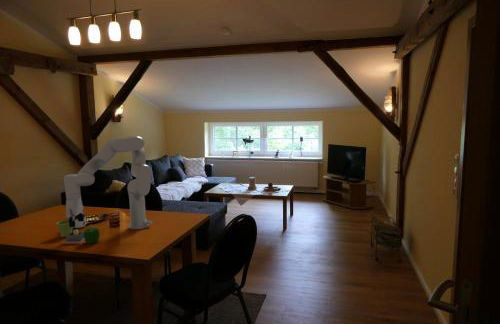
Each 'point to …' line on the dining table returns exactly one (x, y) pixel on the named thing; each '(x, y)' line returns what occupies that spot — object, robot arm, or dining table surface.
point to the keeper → (74, 241)
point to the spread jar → (79, 223)
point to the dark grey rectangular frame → (75, 236)
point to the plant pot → (64, 228)
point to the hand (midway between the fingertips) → (76, 224)
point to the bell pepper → (91, 235)
